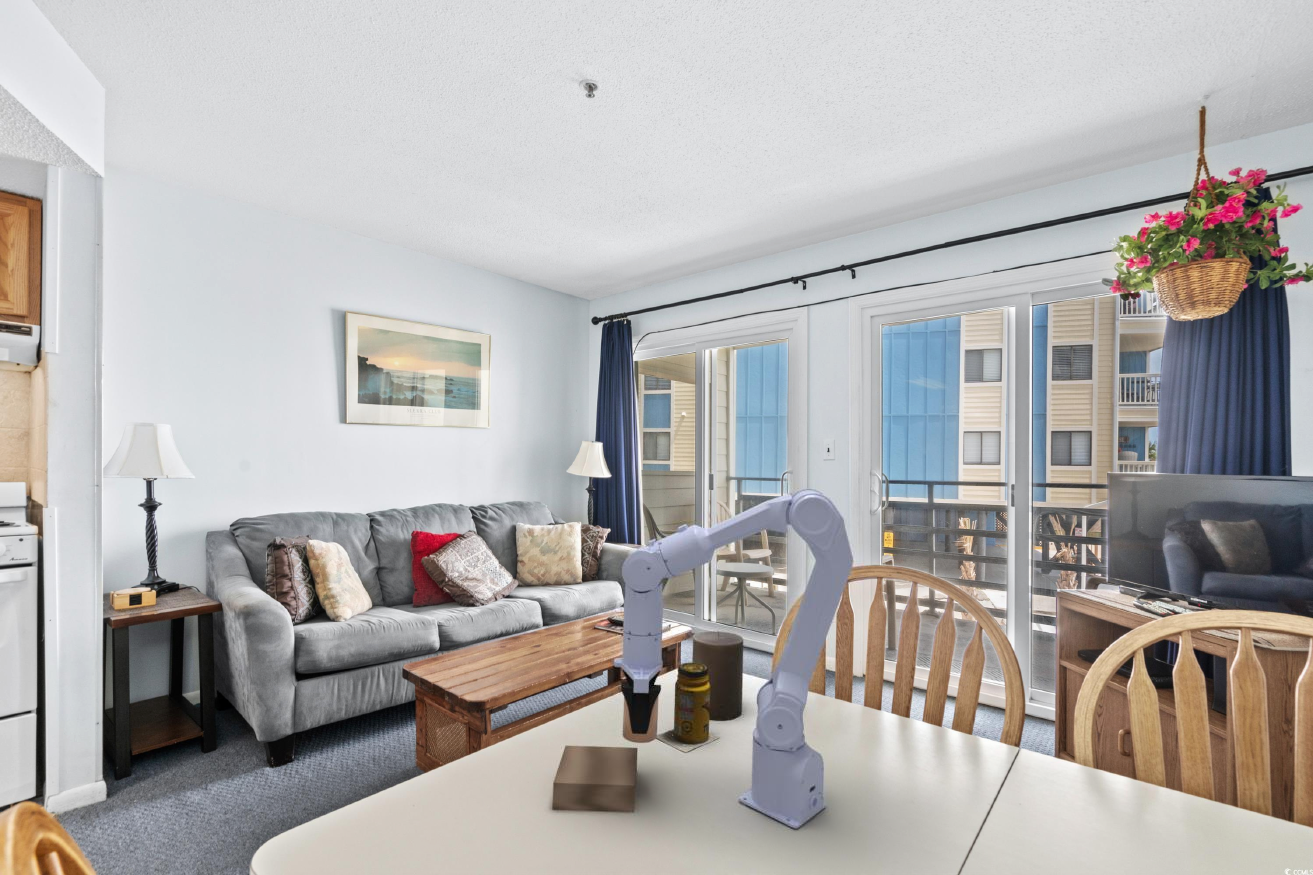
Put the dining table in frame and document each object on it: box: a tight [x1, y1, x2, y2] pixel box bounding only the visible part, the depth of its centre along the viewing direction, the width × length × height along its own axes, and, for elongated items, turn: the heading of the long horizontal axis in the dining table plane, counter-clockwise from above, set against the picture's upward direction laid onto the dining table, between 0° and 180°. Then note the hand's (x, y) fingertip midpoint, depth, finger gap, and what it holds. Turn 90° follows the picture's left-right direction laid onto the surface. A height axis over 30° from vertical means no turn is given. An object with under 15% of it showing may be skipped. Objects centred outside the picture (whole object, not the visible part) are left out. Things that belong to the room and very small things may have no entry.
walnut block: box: [552, 745, 639, 813], centre depth 93 cm, size 11×11×4 cm
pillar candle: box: [691, 630, 744, 721], centre depth 122 cm, size 10×10×15 cm
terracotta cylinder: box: [622, 695, 660, 744], centre depth 94 cm, size 5×5×6 cm
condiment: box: [656, 662, 720, 753], centre depth 110 cm, size 7×8×12 cm
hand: (639, 724), depth 94 cm, fingers closed on terracotta cylinder, 5 cm apart
